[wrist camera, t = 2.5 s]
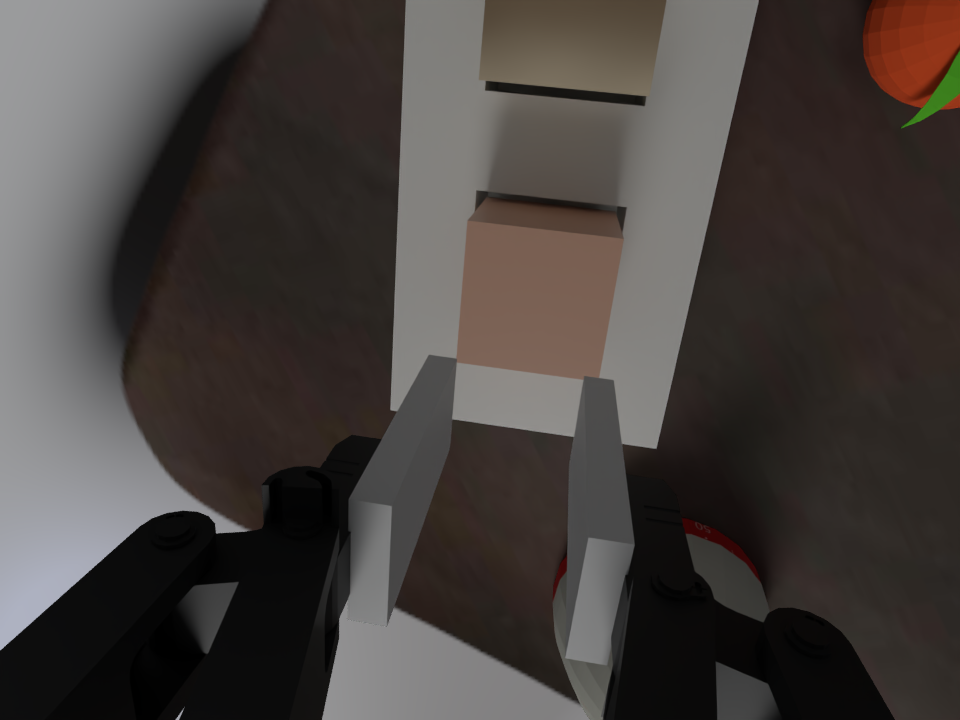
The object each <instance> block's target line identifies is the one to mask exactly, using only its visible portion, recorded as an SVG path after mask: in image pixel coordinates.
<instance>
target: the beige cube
mask: <svg viewBox="0 0 960 720" xmlns="http://www.w3.org/2000/svg"><path fill="white" fill-rule="evenodd" d="M665 6H666V0H485V9H484V21H483V33H482V46H481V58H480V71H479V80H484V81H494V82H505V83H515V84H525V85H536V86H546V87H556V88H567V89H577V90H587V91H598V92H608V93H618V94H629V95H639V96H650V90H651V84H652V79H653V73H654V68H655V62H656V56H657V51H658V45H659V40H660V34H661V28H662V23H663V17H664V12H665Z"/></svg>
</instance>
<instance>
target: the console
mask: <svg viewBox="0 0 960 720" xmlns="http://www.w3.org/2000/svg"><path fill="white" fill-rule="evenodd" d="M758 2H759V0H666V6H665V12H664V17H663V23H662V28H661V34H660V40H659V45H658V51H657V56H656V62H655V68H654V73H653V79H652V84H651V90H650V96H639V95H629V94H618V93H608V92H598V91H587V90H577V89H567V88H556V87H546V86H536V85H525V84H515V83H505V82H494V81H484V80H479V71H480V58H481V46H482V33H483V21H484V9H485V0H406V14H405V41H404V67H403V94H402V120H401V147H400V173H399V200H398V226H397V253H396V279H395V306H394V332H393V359H392V385H391V410H393V411H398V409H399V408H400V406H401V404H402V402H403V400H404V399H405V397H406V395H407V393H408V391H409V390H410V388H411V386H412V384H413V382H414V381H415V379H416V377H417V375H418V373H419V371H420V370H421V368H422V366H423V364H424V362H425V361H426V359H427V357H428V355H435V356H442V357H449V358H456V356H457V344H458V331H459V319H460V307H461V294H462V282H463V269H464V257H465V244H466V232H467V220H468V219H469V218H470V217H471V216H472V214H473V213H474V212H475V211H476V210H477V208H478V207H479V206H480V205H481V204H482V202H483V201H484V200H485V199H486V197H493V198H502V199H511V200H520V201H529V202H538V203H546V204H555V205H564V206H573V207H582V208H591V209H599V210H608V211H615V212H616V215H617V218H618V222H619V225H620V228H621V231H622V234H623V237H624V241H623V247H622V252H621V258H620V264H619V269H618V275H617V280H616V286H615V292H614V297H613V303H612V308H611V314H610V320H609V325H608V331H607V336H606V342H605V348H604V353H603V359H602V364H601V370H600V376H599V378H603V379H610V380H614V386H615V394H616V401H617V409H618V417H619V425H620V433H621V441H622V444H627V445H634V446H641V447H648V448H654V449H656V448H657V444H658V440H659V435H660V431H661V426H662V422H663V418H664V413H665V409H666V405H667V400H668V396H669V391H670V387H671V383H672V378H673V374H674V370H675V365H676V361H677V356H678V352H679V348H680V343H681V339H682V334H683V330H684V326H685V321H686V317H687V313H688V308H689V304H690V299H691V295H692V291H693V286H694V282H695V278H696V273H697V269H698V264H699V260H700V256H701V251H702V247H703V243H704V238H705V234H706V229H707V225H708V221H709V216H710V212H711V208H712V203H713V199H714V194H715V190H716V186H717V181H718V177H719V173H720V168H721V164H722V159H723V155H724V151H725V146H726V142H727V138H728V133H729V129H730V124H731V120H732V116H733V111H734V107H735V103H736V98H737V94H738V89H739V85H740V81H741V76H742V72H743V67H744V63H745V59H746V54H747V50H748V46H749V41H750V37H751V32H752V28H753V24H754V19H755V15H756V11H757V6H758ZM582 386H583V380H581V379H573V378H566V377H559V376H552V375H544V374H537V373H530V372H522V371H515V370H508V369H501V368H493V367H486V366H479V365H471V364H464V363H457V366H456V378H455V391H454V403H453V415H452V419H455V420H462V421H469V422H476V423H483V424H489V425H496V426H503V427H510V428H517V429H524V430H531V431H538V432H544V433H551V434H558V435H565V436H572V437H574V434H575V428H576V422H577V416H578V410H579V404H580V398H581V392H582Z"/></svg>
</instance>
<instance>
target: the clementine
mask: <svg viewBox="0 0 960 720" xmlns="http://www.w3.org/2000/svg"><path fill="white" fill-rule="evenodd" d="M863 49H864V58H865V61H866V63H867V66H868V69H869V72H870V74H871V76H872V77H873V79H874V80H875V81H876V82H877V84H878V85H879V86H880V88H881V89H882V90H883V91H885V92H886V93H888V94H889V95H891V96H892V97H894V98H895V99H897V100H898V101H901V102H903V103H906V104H909V105H913V106H916V107H920V108H922V109H921V110H920V111H919V112H918V113H917V114H916V115H915V117H914V118H912V119H911V120H910V121H908V122H907V123H906V124H905V125H903V126H902V127H901V128H903V127H906V126H908V125H911V124H914V123H916V122H919V121H921V120H923V119H925V118H926V117H928V116H930V115H931V114H933V113H935V112H936V111H938V110H940V109H953V108H958V107H960V0H872V2H871V4H870V7H869V9H868V11H867V15H866V20H865V25H864V31H863Z"/></svg>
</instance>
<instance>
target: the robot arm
mask: <svg viewBox="0 0 960 720" xmlns="http://www.w3.org/2000/svg"><path fill="white" fill-rule="evenodd" d="M456 366H457V358H449V357H442V356H435V355H428V357H427V359H426V361H425V362H424V364H423V366H422V368H421V370H420V371H419V373H418V375H417V377H416V379H415V381H414V382H413V384H412V386H411V388H410V390H409V391H408V393H407V395H406V397H405V399H404V400H403V402H402V404H401V406H400V408H399V409H398V411H397V413H396V415H395V417H394V418H393V420H392V422H391V424H390V426H389V427H388V429H387V431H386V433H385V435H384V436H383V438H382V439H376V438H369V437H362V436H356V435H351V436H349V437H348V438H346V439H345V440H343V441H341V442H340V443H338V444H336V445H335V446H334V448H333V449H332V451H331V452H330V454H329V455H328V457H327V459H326V461H324V463H323V464H322V466H321V467H320V468H317V467H311V466H302V467H292V468H288V469H284V470H280V471H278V472H277V473H275V474H273V475H271V476H269V477H268V478H267V479H266V481H265V482H264V483H263V484H262V499H263V518H264V525H263V527H262V529H259V530H254V531H247V532H235V533H218V534H216V530H215V523H214V522H213V521H212V520H211V519H210V517H209V516H206V515H204V514H201V513H199V512H192V511H178V512H172V513H166V514H163V515H161V516H158V517H155V518H152V519H151V520H149V521H148V522H146V523H145V524H143V525H141V526H140V527H139V528H138V529H136V531H135V532H133V533H132V534H131V535H130V536H129V537H127V538H126V539H125V540H124V541H123V542H122V543H121V544H120V545H118V546H117V547H116V548H115V549H114V550H113V551H112V552H111V553H109V554H108V555H107V556H106V557H105V558H104V559H103V560H102V561H101V562H99V563H98V564H97V565H96V566H95V567H94V568H93V569H92V570H90V571H89V572H88V573H87V574H86V575H85V576H84V577H83V578H81V579H80V580H79V581H78V582H77V583H76V584H75V585H74V586H72V587H71V588H70V589H69V590H68V591H67V592H66V593H65V594H63V595H62V596H61V597H60V598H59V599H58V600H57V601H56V602H54V603H53V604H52V605H51V606H50V607H49V608H48V609H47V610H45V611H44V612H43V613H42V614H41V615H40V616H39V617H38V618H36V619H35V620H34V621H33V622H32V623H31V624H30V625H29V626H28V627H26V628H25V629H24V630H23V631H22V632H21V633H20V634H18V636H16V637H15V638H14V639H13V640H12V641H11V642H9V643H8V644H7V645H6V646H5V647H4V648H3V649H2V650H0V720H175V719H176V718H177V717H178V715H179V714H180V712H181V711H182V710H183V708H184V707H185V708H184V710H183V712H182V715H181V717H180V719H179V720H322V716H323V711H324V706H325V702H326V697H327V692H328V688H329V683H330V678H331V674H332V669H333V664H334V659H335V655H336V650H337V645H338V640H339V618H340V615H341V613H342V611H343V609H344V606H345V604H346V602H347V600H348V620H353V621H358V622H364V623H369V624H375V625H380V626H387V625H388V622H389V619H390V616H391V613H392V611H393V608H394V605H395V602H396V599H397V596H398V594H399V591H400V588H401V585H402V582H403V579H404V577H405V574H406V571H407V568H408V565H409V562H410V560H411V557H412V554H413V551H414V548H415V545H416V543H417V540H418V537H419V534H420V531H421V528H422V526H423V523H424V520H425V517H426V514H427V511H428V509H429V506H430V503H431V500H432V497H433V494H434V491H435V489H436V486H437V483H438V480H439V477H440V474H441V472H442V469H443V466H444V463H445V460H446V457H447V455H448V452H449V449H450V440H451V428H452V415H453V403H454V391H455V378H456ZM611 646H612V661H613V667H612V671H611V676H610V680H609V684H608V688H607V693H606V697H605V701H604V706H603V710H602V714H601V717H603V720H895V719H894V717H893V716H892V714H891V712H890V710H889V709H888V707H887V705H886V704H885V702H884V700H883V698H882V697H881V695H880V693H879V691H878V690H877V688H876V686H875V684H874V683H873V681H872V679H871V678H870V676H869V674H868V672H867V671H866V669H865V667H864V665H863V664H862V662H861V660H860V659H859V657H858V655H857V653H856V652H855V650H854V648H853V646H852V645H851V643H850V642H849V641H848V640H847V638H846V637H845V636H844V635H843V633H842V632H841V631H840V630H838V629H837V628H836V627H834V626H833V625H832V624H831V623H829V622H828V621H827V620H825V619H823V618H821V617H819V616H817V615H815V614H813V613H811V612H808V611H804V610H800V609H796V608H777V609H775V610H773V611H771V612H769V613H768V614H767V616H766V618H765V620H764V622H761V621H759V620H756V619H754V618H751V617H749V616H746V615H743V614H741V613H738V612H736V611H734V610H732V609H730V608H728V607H726V606H724V605H723V604H721V603H720V602H718V601H717V600H715V599H714V596H713V593H712V589H711V587H710V585H709V584H708V583H707V582H706V581H705V579H704V578H703V577H702V576H701V575H699V574H698V573H696V572H695V570H694V566H693V562H692V558H691V553H690V549H689V545H688V541H687V537H686V533H685V529H684V527H683V521H682V517H681V514H680V509H679V504H678V500H677V496H676V494H675V493H674V492H673V491H672V490H671V488H670V487H669V486H668V485H667V484H666V483H665V481H664V480H661V479H654V478H647V477H640V476H634V475H627V474H626V472H625V464H624V456H623V448H622V441H621V433H620V425H619V417H618V409H617V401H616V394H615V386H614V380H610V379H603V378H596V377H588V376H584V380H583V386H582V392H581V398H580V404H579V410H578V416H577V422H576V428H575V434H574V440H573V446H572V452H571V458H570V463H569V497H568V547H567V597H566V647H565V658H567V659H573V660H579V661H584V662H590V663H596V664H601V665H607V664H608V660H609V655H610V651H611Z"/></svg>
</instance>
